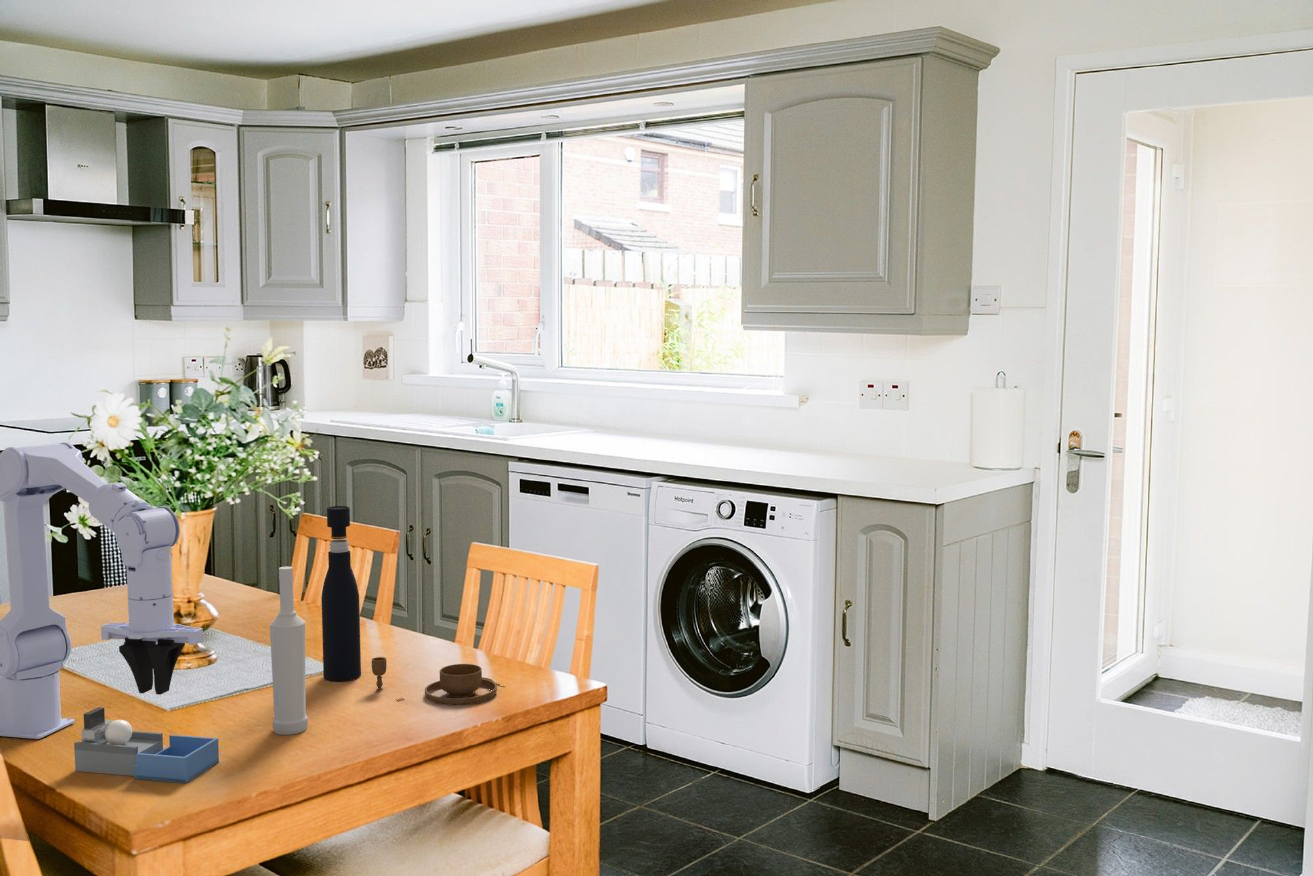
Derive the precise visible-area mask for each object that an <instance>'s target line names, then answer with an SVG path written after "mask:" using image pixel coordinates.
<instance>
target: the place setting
mask: <svg viewBox="0 0 1313 876" xmlns="http://www.w3.org/2000/svg"><path fill="white" fill-rule="evenodd" d="M482 669H483V668H482V667H481V666H479V665H477V664H471V663H456V664H450V665H446V666H444V667H441V669H440V670H439V680H438V681H435V682H431V683H429V684H428V685H427V686H425V688H424V696H425V697H426V698H427V700H429V701H430V702H432V703H435V704H438V705H444V706H445V705H446V706H466V705H467V706H469V705H474V704H479V703H482V702H485V700H486V701H488V700H490V699H492V698H494V696H495V695H496V693H497V690H498V687H501V688H507V686H506V685H503V686H500V685H501V684H499V683H498V682H495V681H494V680H493V679H491V678H489V677H484V676H483V673H482ZM371 670H372V674H373V676H376V680H377V681H376V683H375V684H376V687H377V688H376V692H383V690H384V689H383V688H382V687H383V684H384V683H383V680H382V679H383V676H384V675H385V674H386V672H387V657H384V656H382V657H381V656H376V657H373V658H371ZM479 688H484V689H487V690H489V689H490V690H492V691H490V690H489V692H487V693H484V694H480V695H474V693H475V692H476V691H478V690H479ZM438 690H443V692H445V693H447V694H448V696H449V697H443V696H438V695H437V696H436V695H433V693H434V692H436V691H438ZM395 700H396V702H402V701H405V700H406V699H404V698H403V697H399V698H397V699H396V698H395Z"/></svg>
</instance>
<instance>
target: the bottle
mask: <svg viewBox="0 0 1313 876" xmlns="http://www.w3.org/2000/svg"><path fill="white" fill-rule="evenodd" d="M278 575H279V576H278V580H279V603H280V609H279V612H278V613H277V616H276V617H275V618H274V619H273V620H272V621H271V622H270V623H269V635H270V637H269V638H270V655H271V658H270V659H271V674H272V675H271V676H272V695H273V698H272V699H273V713H274V714H273V718H272V728H273V732H274V733H275V734H277V735H281V736H285V735H286V736H289V735H296V734H300V733H302V732H303V733H304V731H306V730H307V728H308V724H309V723H308V721H309V720H308V719H309V717H308V715H307V713H306V708H307V707H306V706H307V705H306V620H304V619H303V618H302V617H300V616H299V615H298V613H297V611H296V610H295V607H294V605H295V604H294V567H293V566H287V565H286V566H281V567H279V568H278Z"/></svg>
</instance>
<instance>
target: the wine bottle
mask: <svg viewBox="0 0 1313 876" xmlns="http://www.w3.org/2000/svg"><path fill="white" fill-rule="evenodd" d="M350 511H351V509H350V506H348V505H334V506H333V505H332V506H329V507H326V527H327V528H331V532H330V533H331V536H330V537H331V539H333V540H329V551H328V552H327V554H328V555H327V556H328V567H327V571H326V575H325V576H324V581H323V585H322V592H321V597H320V598H321V627H322V628H321V629H322V635H321V636H322V666H323V667H322V668H323V670H322V673H323V680H325V681H327V682H334V683H341V682H342V683H343V682H350V681H353V680H358V679H360V677H361V676H362V660H361V659H362V657H361V655H362V653H361V617H360V616H361V614H360V613H361V612H360V593H359V587H358V583H357V580H356V577H355V574H354V572H353V569H352V567H351V566H352V565H351V563H352V560H351V550H349V549H350V547H349V545H350V543H349V540H348V539H346V538H347V537H348V535H347V527H348V528H349V527H350V526H351V512H350Z"/></svg>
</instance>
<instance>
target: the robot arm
mask: <svg viewBox="0 0 1313 876" xmlns="http://www.w3.org/2000/svg"><path fill="white" fill-rule="evenodd" d="M64 489H65V490H66V491H68V492H70V493H71V494H74V495H75V496H77V497H78V498H80V499H82V500H83V501H85V502H87V503H88V512H89V513H90V515H91V516H92V517H93V518H95V520H97V521H98V522H99V523H101V524H102V525H103V526H105V527H106V528H107V529H109V530H110V531H111V532H112V533H114V535H115V536H114V537H115V540H116V543H117V544H116V545H118V548H119V550H120V552H121V561H122V562H123V566H125V567H126V587H127V607H128V609H127V610H128V611H127V612H128V622H108V623H106V624H103V625H101V626H100V635H101V636H100V638H101V640H103V641H108V640H124V642H123V644H122V645H119V646H118V650H119V653H120V655H121V656H122V657H123V658H124V660H125V662H127V665H128V666H129V669H130V670H131V673H132V675H133V678H134V682H135V683H136V687H137V690H138V693H139V694H145V693H147V692H149V691H151V690H153V687H154V690H155V691H154V692H155V695H160V696H161V695H162V694H165V693H167V692H169V691H170V687H171V682H172V676H173V673H174V670H175V667H176V664H177V663H178V659H179V657H180V655H181V653H182V651H183V649H184V648H185V645H186V644H188V645H189V646H196V645H198V644H200V643H203V642H204V629H203V627H194V626H189V625H183V624H180V623H175V622H174V621H175V619H174V617H175V615H174V595H173V593H174V592H173V591H174V590H173V569H172V568H173V567H172V566H173V565H172V547H174V546H176V544H177V543H178V541H179V538H180V535H181V534H180V533H181V528H180V522H179V519H178V517H177V515H176V514H175V512H174V511H173V510H172V509H171V508H170V507H169V506H166V505H161V506H155V505H153V506H152V505H150V504H149V503H148V502H147V501H146V500H144V499H142V498H140V497H139V496H137V495H136V494H135V493H134V492H132V491H131V490H129V489H128V487H127V485H126V484H125V483H124V482H109V483H107V482H105V480H103V479H102V477H100V476H99V475H98V474H96V473H95V472H94V471H93V470H92V469H91V468H90V467H89V466H88V465H87V464H85V462H84V459H83V454H82V451H81V450H80V449H78V448H76V447H75V446H74V445H73V444H71V443H70V442H61V443H57V444H56V443H55V444H43V445H32V446H22V447H15V446H10V447H9V446H8V447H5V449H3V450H2V452H0V502H2V503H3V520H4V532H5V533H4V534H5V544H6V545H5V548H6V562H7V565H6V566H7V577H8V590H9V591H8V593H9V604H10V605H9V606H10V610H9V611H8V612H7V613H5V615H4V616H3V617H1V618H0V737H11V738H22V739H31V740H32V739H34V740H38V739H42V738H44V737H47V736H48V735H51V734H53V733H54V732H57V731H60V730H62V729H63V728H65V727H68V726H70V725H72V724H74V723H75V722H76V721H75V719H74V718H62V711H61V710H62V707H61V689H60V688H61V685H60V670H62V669H64V663H65V662H66V661H67V660H68V659H69V657H70V655H71V652H72V638H71V635H70V633H69V631H68V627H67V622H66V617H65V616H64V615H63V614H62V613H60V612H58V611H56V610H54V609H53V608H51V606H50V594H49V581H48V567H47V566H48V564H47V563H48V562H47V549H46V536H45V535H46V534H45V521H44V519H45V518H44V505H45V504H46V503H47V502H48V501H49V500H50V499H51V498H52V497H53V495H55V494H57V493H58V492H61V491H62V490H64Z"/></svg>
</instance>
